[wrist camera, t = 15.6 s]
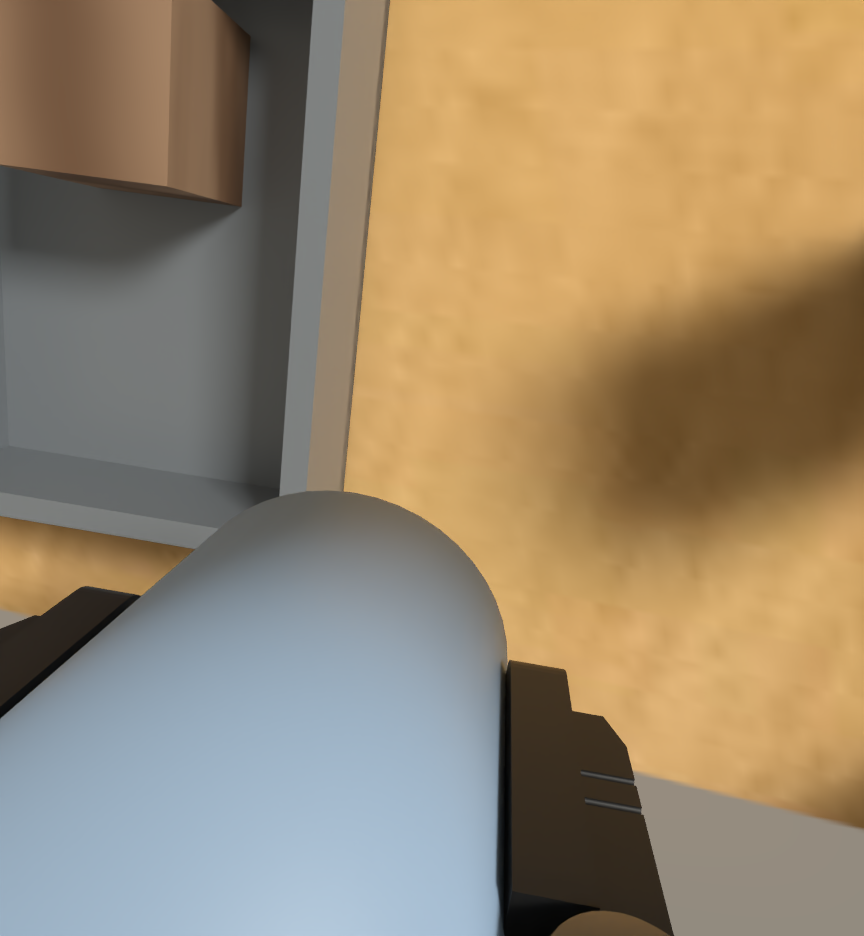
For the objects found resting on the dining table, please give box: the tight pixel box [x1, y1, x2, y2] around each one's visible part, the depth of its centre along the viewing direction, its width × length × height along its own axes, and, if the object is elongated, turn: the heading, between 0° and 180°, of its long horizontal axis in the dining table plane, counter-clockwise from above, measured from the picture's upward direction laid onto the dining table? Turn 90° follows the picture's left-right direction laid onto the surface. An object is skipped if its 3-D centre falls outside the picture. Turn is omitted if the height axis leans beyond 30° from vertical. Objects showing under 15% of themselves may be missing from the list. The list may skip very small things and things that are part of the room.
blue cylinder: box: [0, 490, 507, 936], centre depth 7 cm, size 5×5×7 cm
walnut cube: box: [0, 0, 251, 207], centre depth 20 cm, size 5×5×5 cm
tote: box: [0, 0, 390, 549], centre depth 22 cm, size 14×18×5 cm
